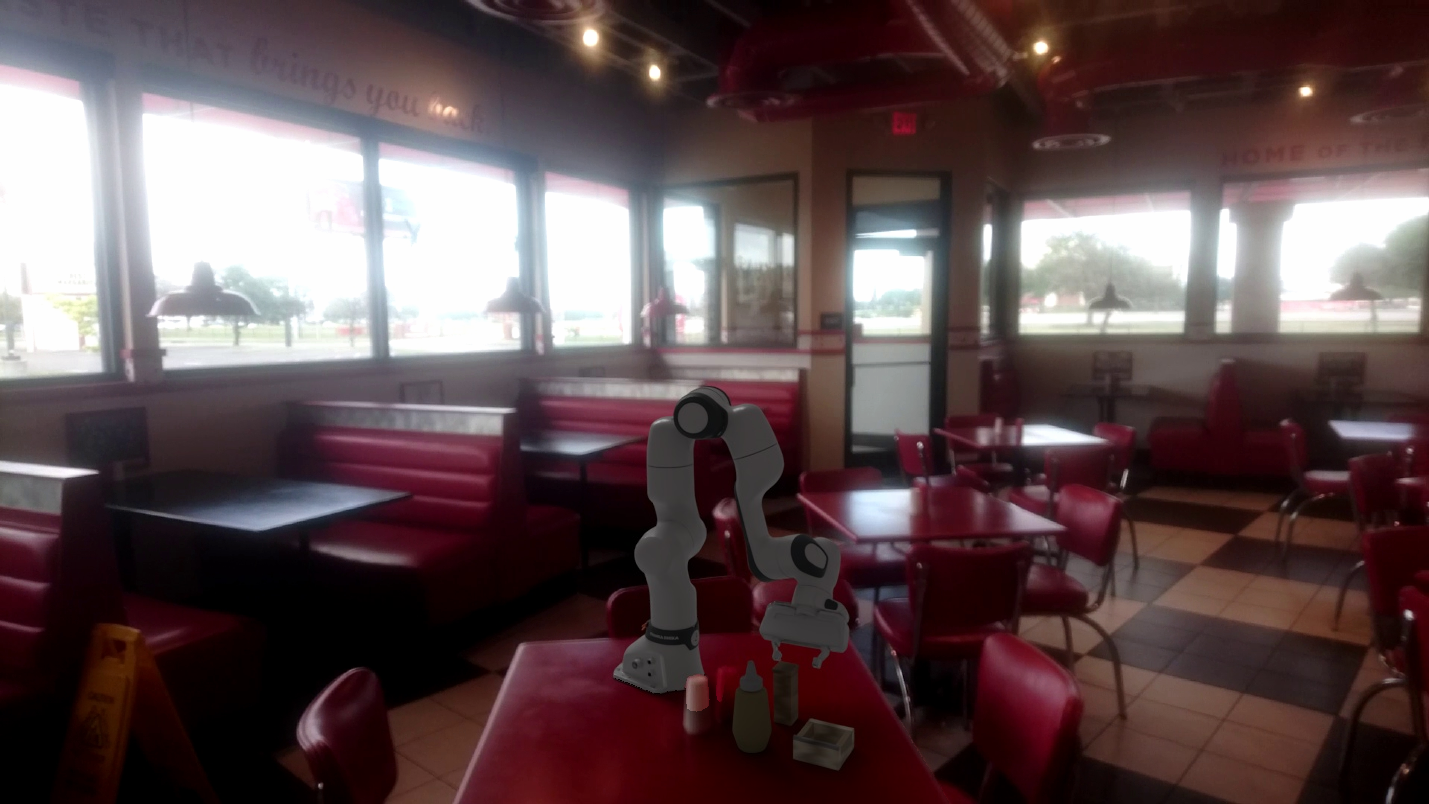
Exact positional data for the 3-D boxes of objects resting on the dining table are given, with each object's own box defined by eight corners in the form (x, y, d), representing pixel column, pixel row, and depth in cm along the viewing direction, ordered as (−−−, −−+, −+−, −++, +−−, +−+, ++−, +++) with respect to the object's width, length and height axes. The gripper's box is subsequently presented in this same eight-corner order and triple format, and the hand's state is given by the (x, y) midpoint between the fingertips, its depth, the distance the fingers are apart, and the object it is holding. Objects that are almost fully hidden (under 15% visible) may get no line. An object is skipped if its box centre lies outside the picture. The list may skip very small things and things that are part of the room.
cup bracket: (793, 758, 161) (793, 735, 161) (810, 736, 169) (810, 714, 169) (838, 770, 157) (838, 747, 156) (854, 747, 165) (854, 724, 164)
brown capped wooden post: (772, 722, 176) (772, 668, 174) (780, 713, 179) (780, 661, 178) (791, 726, 174) (791, 672, 172) (799, 717, 177) (798, 664, 176)
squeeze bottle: (769, 758, 161) (768, 672, 159) (729, 755, 163) (727, 669, 161) (774, 737, 169) (773, 654, 167) (736, 734, 171) (734, 652, 169)
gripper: (765, 593, 190) (748, 649, 182) (849, 605, 180) (835, 665, 173) (773, 605, 194) (757, 661, 187) (856, 618, 185) (842, 677, 177)
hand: (795, 663), depth 180 cm, fingers open, 8 cm apart
